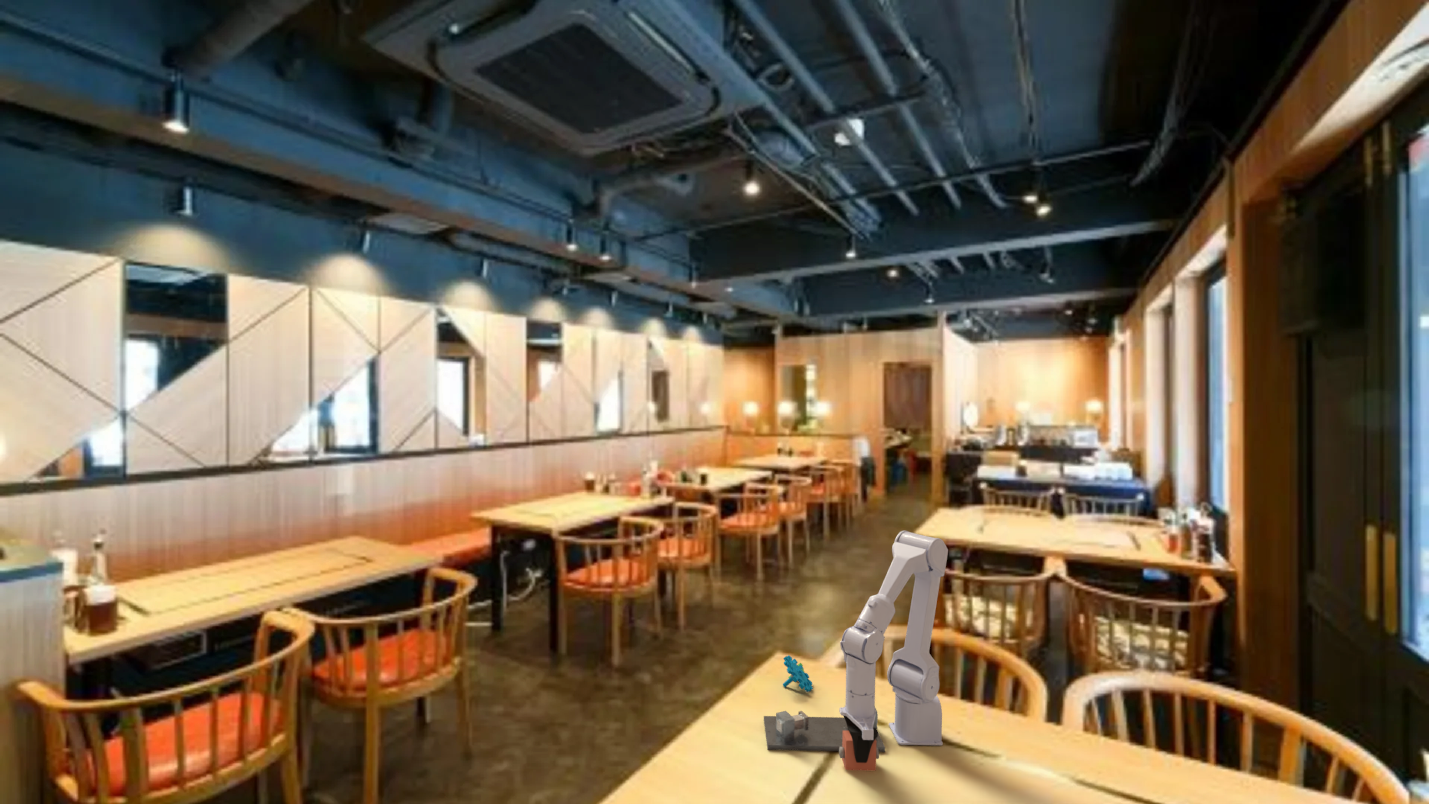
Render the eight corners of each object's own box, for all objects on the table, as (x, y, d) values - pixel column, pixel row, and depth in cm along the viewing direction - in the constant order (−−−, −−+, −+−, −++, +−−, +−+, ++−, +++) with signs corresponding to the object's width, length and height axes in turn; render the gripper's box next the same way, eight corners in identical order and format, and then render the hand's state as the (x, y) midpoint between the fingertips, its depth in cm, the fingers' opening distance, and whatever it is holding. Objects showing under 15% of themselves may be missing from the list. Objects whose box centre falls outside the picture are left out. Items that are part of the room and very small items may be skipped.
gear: (811, 694, 151) (784, 659, 154) (793, 709, 152) (766, 674, 155) (818, 680, 162) (792, 648, 165) (801, 694, 163) (775, 662, 165)
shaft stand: (871, 722, 142) (872, 698, 142) (885, 752, 131) (885, 726, 130) (763, 720, 142) (764, 696, 142) (767, 749, 131) (768, 723, 131)
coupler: (875, 760, 128) (876, 731, 128) (879, 770, 124) (880, 741, 124) (838, 759, 128) (838, 730, 128) (841, 770, 124) (842, 740, 124)
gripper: (833, 671, 133) (832, 734, 133) (847, 706, 118) (846, 777, 119) (867, 672, 133) (865, 735, 133) (885, 707, 118) (883, 778, 119)
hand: (858, 755), depth 126 cm, fingers open, 4 cm apart
